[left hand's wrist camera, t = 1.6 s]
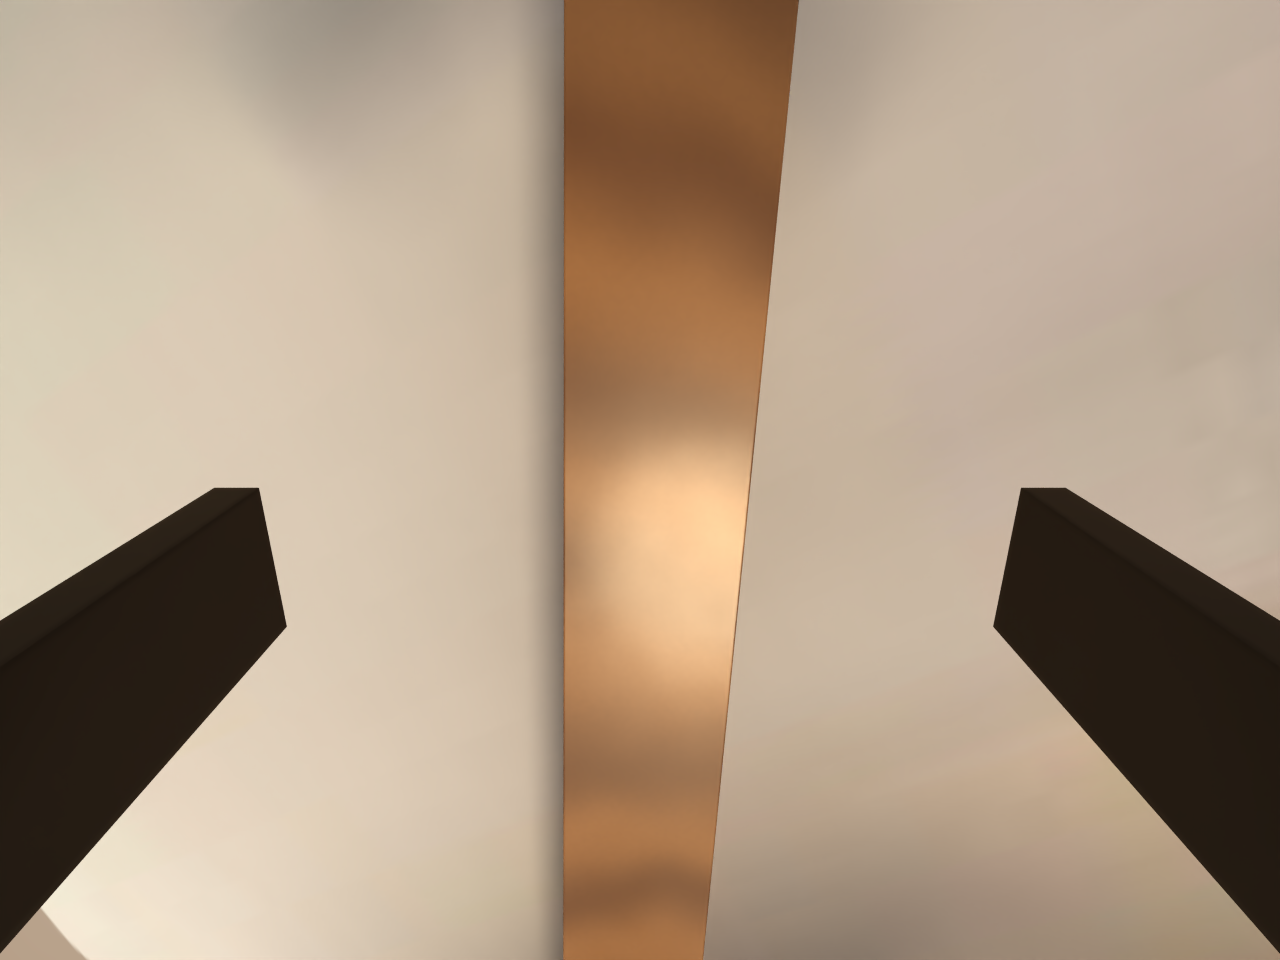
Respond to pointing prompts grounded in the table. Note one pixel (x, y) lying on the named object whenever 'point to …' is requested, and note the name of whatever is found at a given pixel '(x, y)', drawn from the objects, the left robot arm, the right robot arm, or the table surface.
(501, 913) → the table surface
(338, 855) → the table surface
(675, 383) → the beam
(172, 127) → the table surface
